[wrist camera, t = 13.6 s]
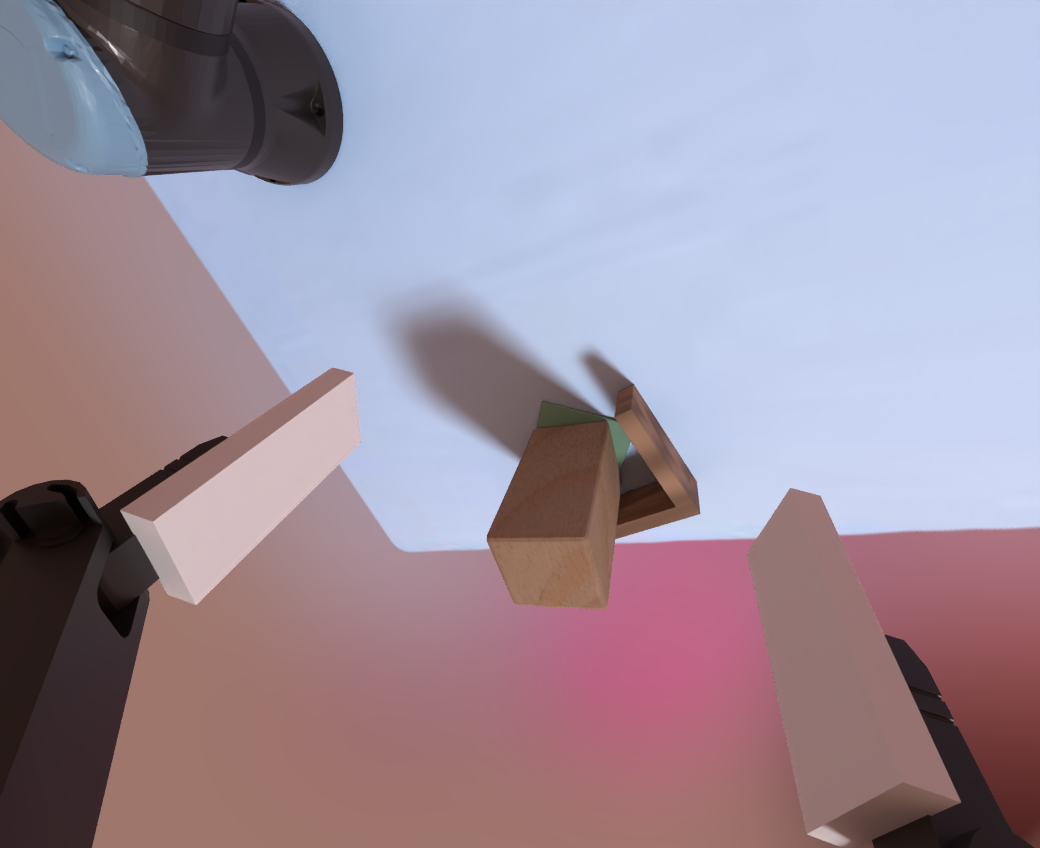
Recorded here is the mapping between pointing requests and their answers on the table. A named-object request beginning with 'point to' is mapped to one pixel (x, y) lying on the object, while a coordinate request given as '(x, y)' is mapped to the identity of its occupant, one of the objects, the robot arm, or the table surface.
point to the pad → (567, 416)
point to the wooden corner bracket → (653, 471)
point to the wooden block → (560, 519)
